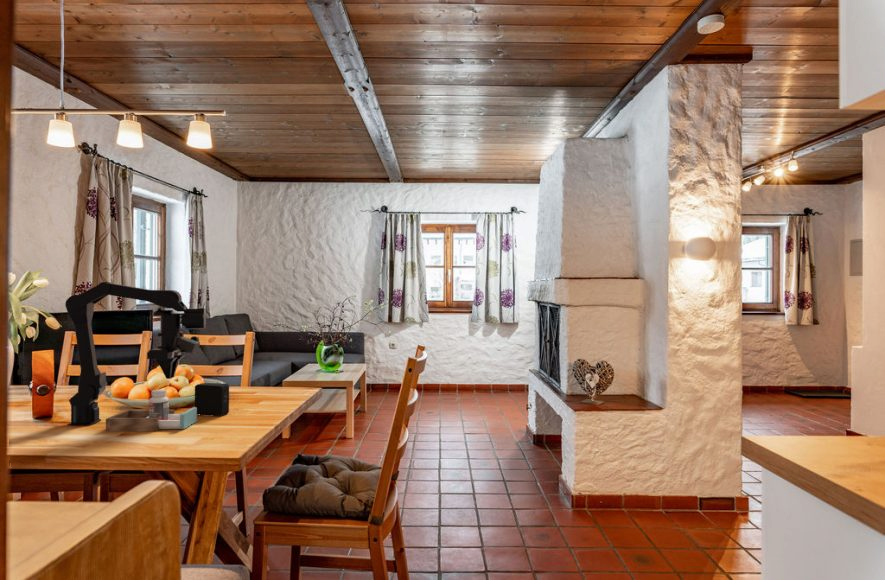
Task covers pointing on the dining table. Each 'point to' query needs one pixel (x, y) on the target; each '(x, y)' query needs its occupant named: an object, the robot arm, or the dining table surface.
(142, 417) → the dock
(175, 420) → the tray
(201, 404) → the electronic device
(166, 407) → the pill bottle
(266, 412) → the dining table surface
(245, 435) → the dining table surface
